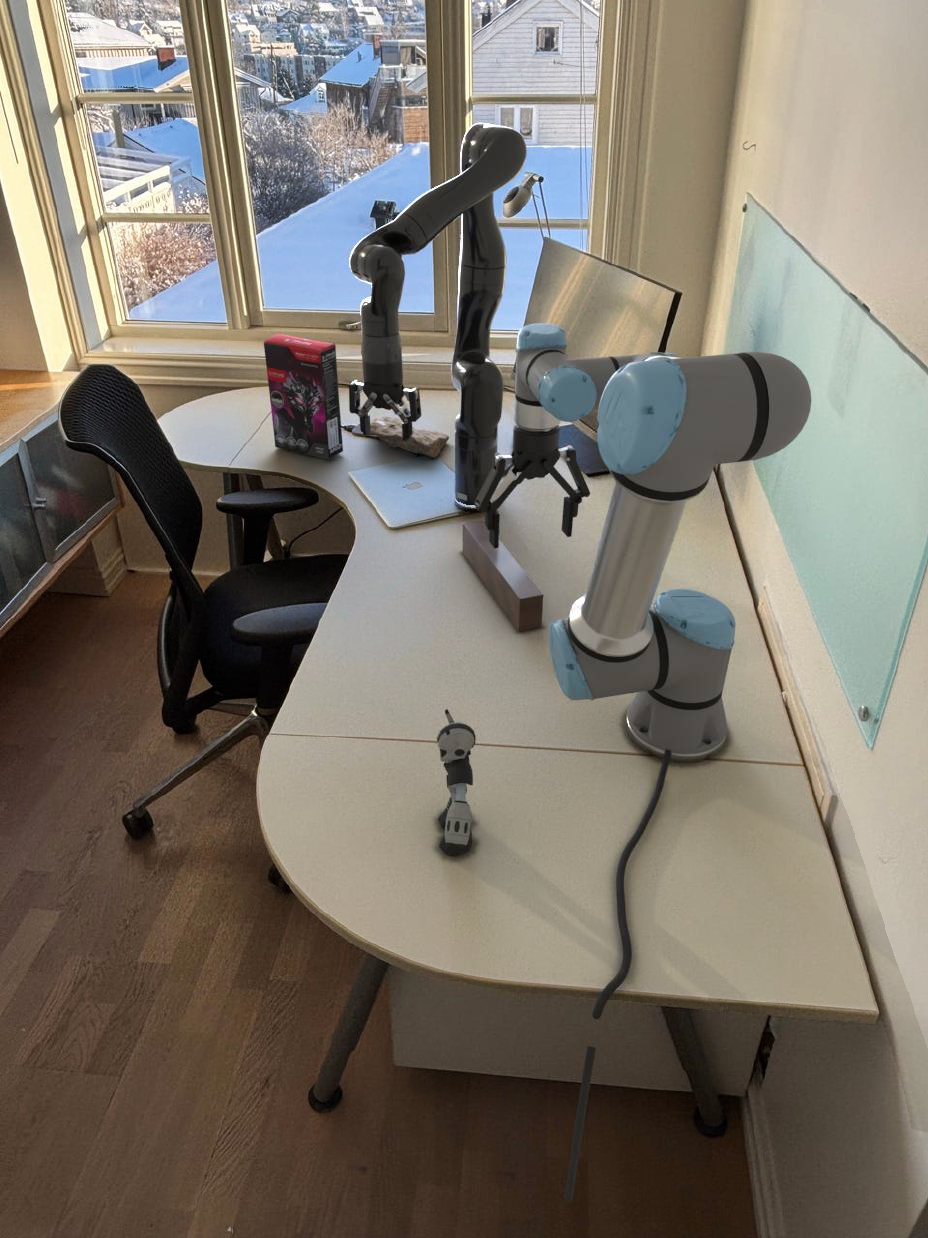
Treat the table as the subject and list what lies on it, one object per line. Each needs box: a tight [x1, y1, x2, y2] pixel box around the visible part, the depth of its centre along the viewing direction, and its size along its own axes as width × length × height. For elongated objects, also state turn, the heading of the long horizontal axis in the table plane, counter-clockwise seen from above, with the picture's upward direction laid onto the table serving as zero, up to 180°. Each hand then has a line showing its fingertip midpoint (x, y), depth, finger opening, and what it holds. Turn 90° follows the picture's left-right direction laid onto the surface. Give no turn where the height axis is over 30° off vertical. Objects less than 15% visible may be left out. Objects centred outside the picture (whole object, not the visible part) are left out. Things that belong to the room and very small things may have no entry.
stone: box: [367, 416, 450, 458], centre depth 231 cm, size 21×15×6 cm
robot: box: [436, 708, 477, 857], centre depth 119 cm, size 20×5×20 cm, turn 3°
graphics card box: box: [263, 333, 344, 460], centre depth 223 cm, size 17×7×27 cm, turn 62°
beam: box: [461, 519, 544, 633], centre depth 176 cm, size 30×4×7 cm, turn 20°
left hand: (386, 436), depth 182 cm, fingers open, 8 cm apart
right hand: (530, 539), depth 161 cm, fingers open, 13 cm apart
